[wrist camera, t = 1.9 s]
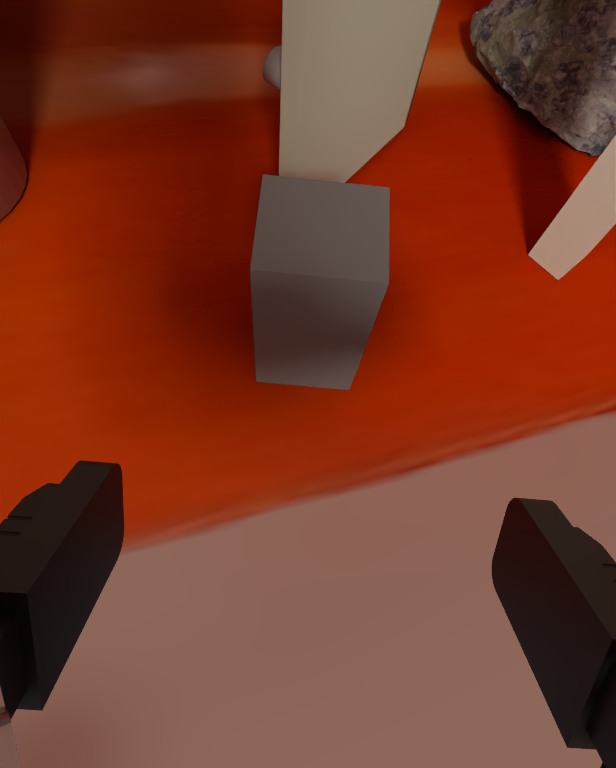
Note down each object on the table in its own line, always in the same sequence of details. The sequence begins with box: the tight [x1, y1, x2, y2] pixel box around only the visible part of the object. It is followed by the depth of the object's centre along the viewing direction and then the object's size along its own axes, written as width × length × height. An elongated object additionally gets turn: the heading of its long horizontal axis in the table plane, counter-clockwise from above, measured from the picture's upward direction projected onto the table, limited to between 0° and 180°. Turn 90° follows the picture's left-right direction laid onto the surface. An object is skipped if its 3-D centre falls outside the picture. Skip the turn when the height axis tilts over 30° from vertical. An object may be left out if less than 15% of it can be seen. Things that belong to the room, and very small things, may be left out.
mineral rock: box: [470, 0, 616, 156], centre depth 34 cm, size 13×11×10 cm
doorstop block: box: [250, 174, 390, 390], centre depth 24 cm, size 4×5×10 cm
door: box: [263, 0, 441, 183], centre depth 26 cm, size 13×3×17 cm, turn 141°
